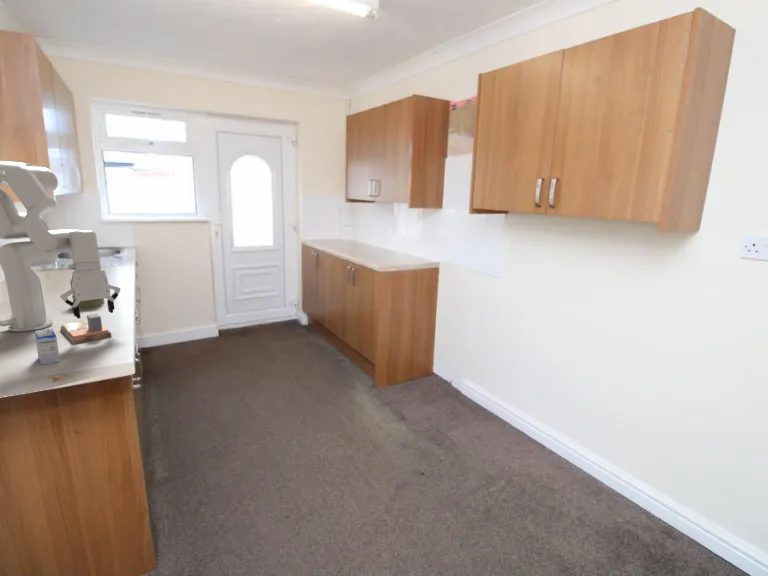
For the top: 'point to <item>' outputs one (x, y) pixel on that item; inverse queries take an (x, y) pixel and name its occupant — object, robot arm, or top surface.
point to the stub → (90, 327)
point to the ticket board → (78, 326)
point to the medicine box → (47, 346)
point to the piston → (89, 303)
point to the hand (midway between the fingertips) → (95, 314)
